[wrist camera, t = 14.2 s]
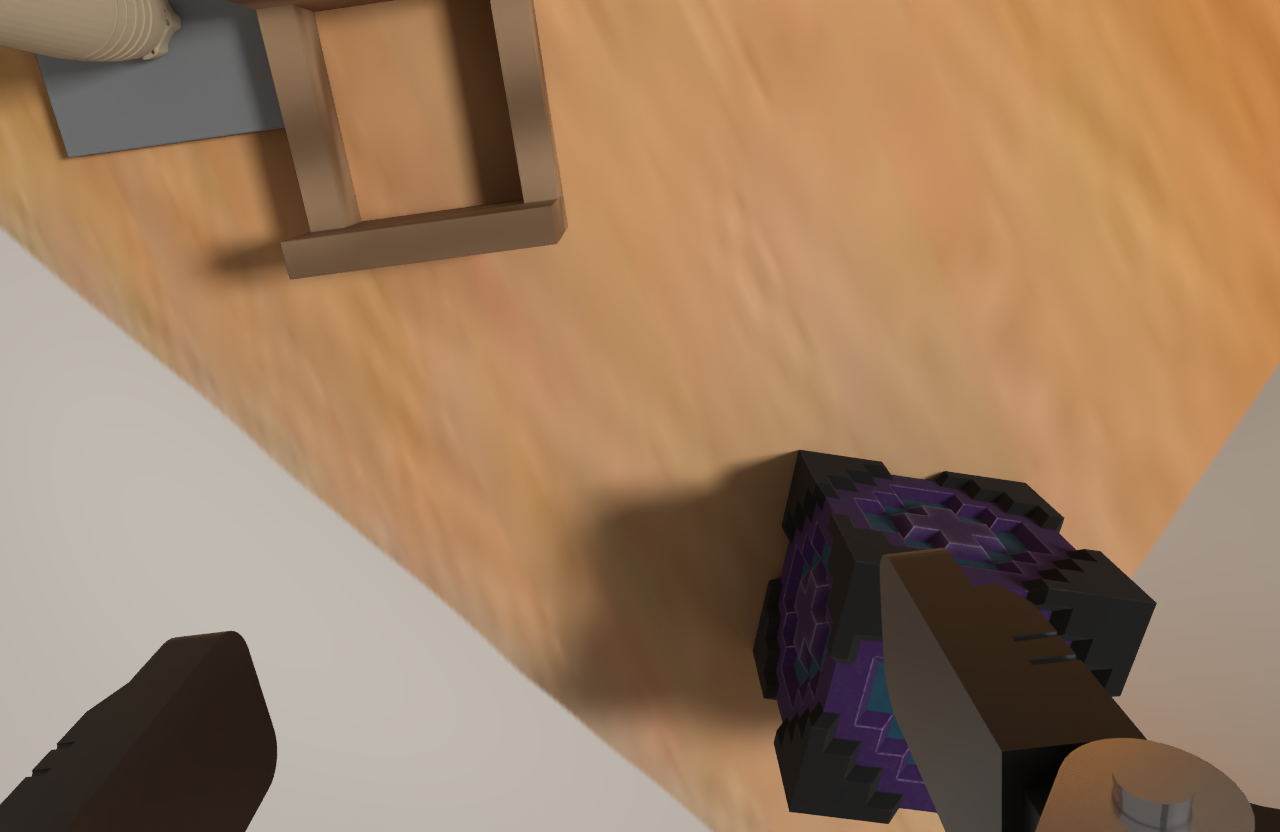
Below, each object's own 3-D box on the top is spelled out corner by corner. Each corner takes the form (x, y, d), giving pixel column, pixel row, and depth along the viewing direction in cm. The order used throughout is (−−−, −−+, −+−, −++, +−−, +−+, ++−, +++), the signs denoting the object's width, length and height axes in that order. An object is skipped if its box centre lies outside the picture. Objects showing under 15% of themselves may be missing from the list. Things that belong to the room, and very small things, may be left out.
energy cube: (1025, 482, 45) (1157, 602, 34) (962, 677, 49) (1061, 845, 38) (798, 449, 45) (855, 560, 33) (752, 649, 48) (789, 811, 37)
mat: (-1, -91, 36) (-14, -96, 36) (233, -126, 36) (224, -132, 35) (79, 156, 40) (68, 157, 39) (294, 126, 39) (287, 126, 39)
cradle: (270, -22, 37) (204, -48, 32) (523, -59, 37) (503, -92, 31) (337, 257, 41) (289, 279, 36) (567, 227, 41) (557, 243, 35)
